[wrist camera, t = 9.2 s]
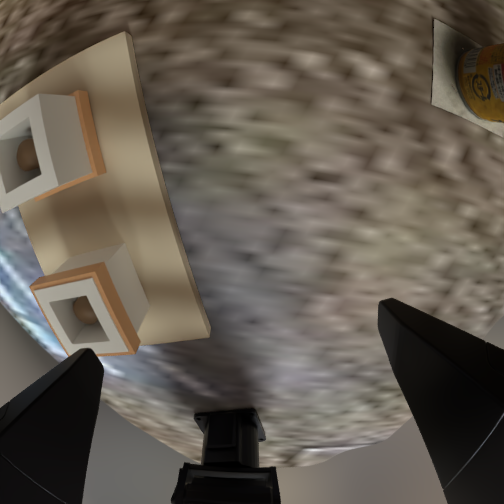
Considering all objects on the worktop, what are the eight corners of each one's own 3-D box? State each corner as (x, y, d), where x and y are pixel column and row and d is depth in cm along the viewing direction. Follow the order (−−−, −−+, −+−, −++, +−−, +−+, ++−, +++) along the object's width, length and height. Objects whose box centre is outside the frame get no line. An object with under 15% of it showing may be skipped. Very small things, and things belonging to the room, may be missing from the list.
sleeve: (88, 91, 14) (41, 85, 10) (107, 172, 16) (64, 189, 12) (28, 125, 15) (-20, 131, 10) (45, 197, 17) (1, 219, 12)
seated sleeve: (155, 308, 20) (135, 355, 16) (95, 317, 21) (68, 358, 16) (127, 237, 18) (94, 272, 14) (65, 254, 19) (28, 287, 14)
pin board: (211, 327, 23) (203, 375, 18) (89, 341, 23) (66, 380, 19) (131, 35, 14) (96, 11, 9) (6, 106, 15) (-39, 110, 10)
